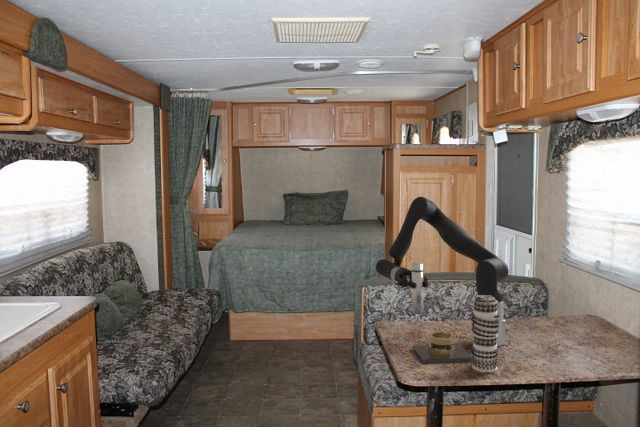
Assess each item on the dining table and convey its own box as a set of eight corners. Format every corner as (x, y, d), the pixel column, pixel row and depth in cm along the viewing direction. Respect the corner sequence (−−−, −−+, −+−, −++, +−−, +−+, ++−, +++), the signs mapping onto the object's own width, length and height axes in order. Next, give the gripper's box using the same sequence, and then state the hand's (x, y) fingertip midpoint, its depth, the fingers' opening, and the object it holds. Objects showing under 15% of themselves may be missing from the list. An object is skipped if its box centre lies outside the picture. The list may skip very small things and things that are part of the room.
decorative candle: (487, 360, 180) (488, 292, 178) (504, 370, 171) (505, 298, 169) (465, 364, 177) (465, 294, 175) (481, 374, 168) (482, 301, 166)
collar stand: (458, 347, 194) (458, 328, 193) (472, 361, 180) (472, 340, 179) (412, 349, 192) (412, 330, 192) (422, 363, 178) (422, 343, 178)
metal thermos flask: (421, 309, 201) (421, 262, 199) (424, 312, 196) (424, 264, 194) (410, 310, 200) (410, 262, 199) (413, 313, 196) (413, 265, 194)
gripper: (386, 268, 209) (403, 277, 192) (418, 266, 213) (437, 274, 196) (386, 286, 210) (403, 296, 193) (418, 283, 213) (437, 293, 197)
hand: (420, 285), depth 195 cm, fingers closed on metal thermos flask, 4 cm apart
